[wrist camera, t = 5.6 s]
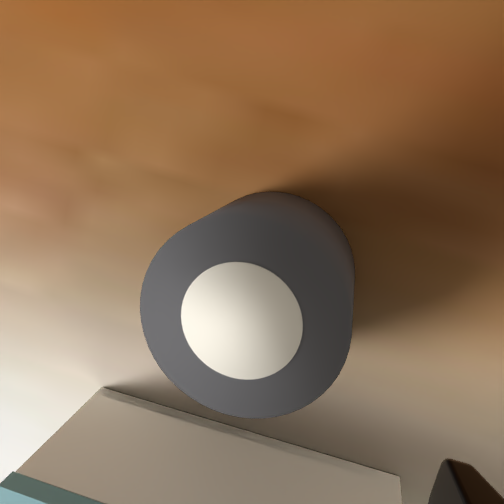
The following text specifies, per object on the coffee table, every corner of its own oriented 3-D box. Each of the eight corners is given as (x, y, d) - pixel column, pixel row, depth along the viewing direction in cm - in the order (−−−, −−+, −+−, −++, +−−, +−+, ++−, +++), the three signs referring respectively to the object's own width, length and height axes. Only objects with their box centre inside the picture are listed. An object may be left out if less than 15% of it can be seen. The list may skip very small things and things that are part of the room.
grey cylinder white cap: (334, 363, 16) (325, 445, 12) (187, 324, 17) (129, 387, 13) (372, 210, 15) (377, 242, 11) (208, 176, 16) (150, 193, 12)
